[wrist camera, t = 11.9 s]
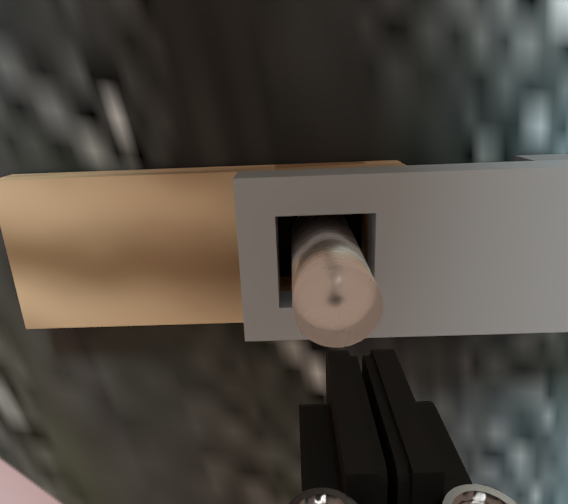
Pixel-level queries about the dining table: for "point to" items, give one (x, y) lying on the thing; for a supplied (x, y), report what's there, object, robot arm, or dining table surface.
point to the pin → (331, 283)
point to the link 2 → (422, 244)
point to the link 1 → (131, 245)
